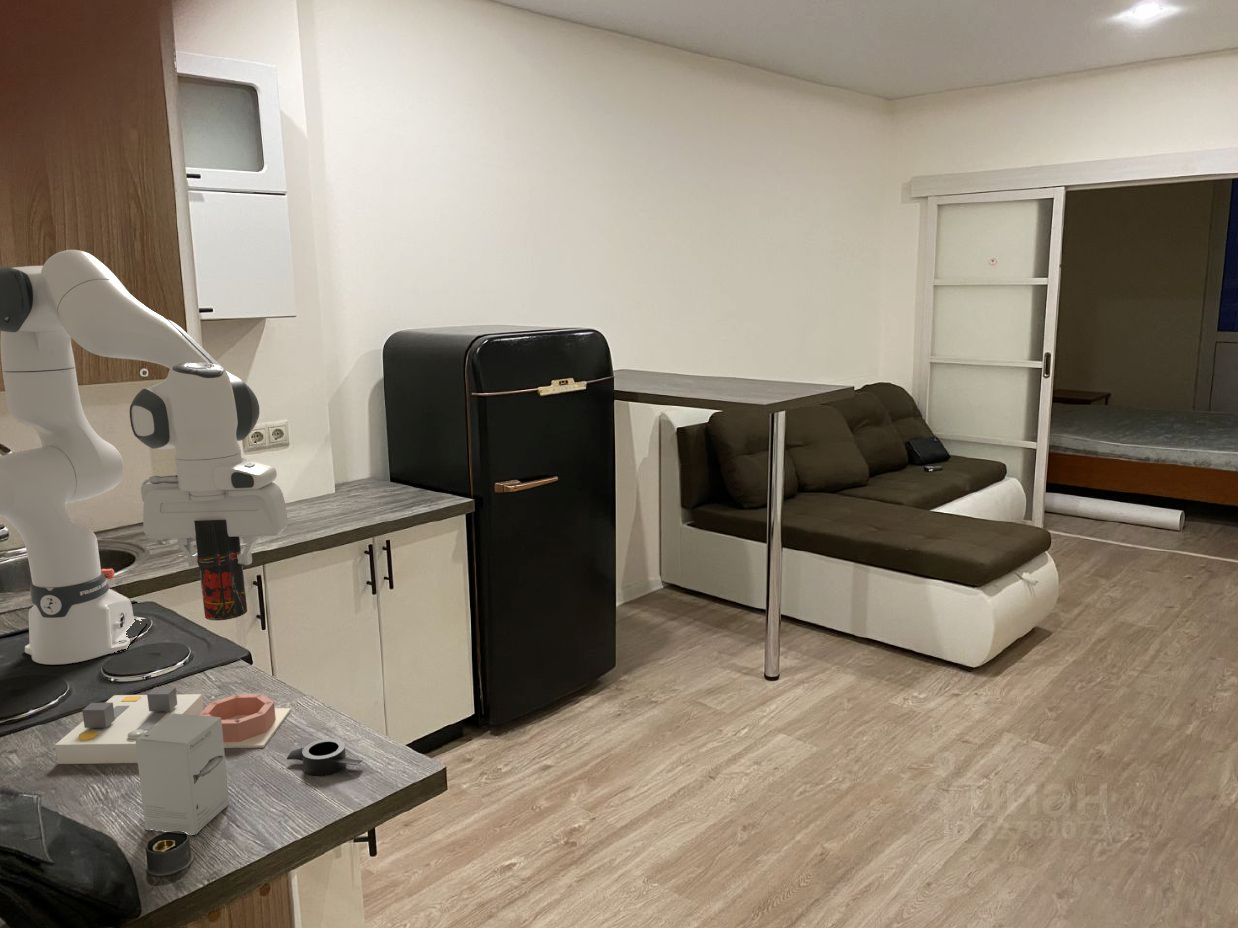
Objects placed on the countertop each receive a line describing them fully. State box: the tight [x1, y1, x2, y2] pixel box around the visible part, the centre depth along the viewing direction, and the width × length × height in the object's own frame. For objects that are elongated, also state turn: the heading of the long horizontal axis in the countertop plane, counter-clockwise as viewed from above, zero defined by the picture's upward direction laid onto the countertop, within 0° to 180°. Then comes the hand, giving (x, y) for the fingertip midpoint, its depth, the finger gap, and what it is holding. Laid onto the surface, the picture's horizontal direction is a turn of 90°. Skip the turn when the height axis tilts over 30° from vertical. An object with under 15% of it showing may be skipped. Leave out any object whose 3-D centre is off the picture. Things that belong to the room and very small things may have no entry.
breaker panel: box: [54, 693, 205, 765], centre depth 140 cm, size 16×14×4 cm
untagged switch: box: [146, 686, 177, 711], centre depth 141 cm, size 2×3×3 cm
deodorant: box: [194, 520, 248, 621], centre depth 138 cm, size 6×6×15 cm
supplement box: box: [135, 713, 230, 836], centre depth 117 cm, size 7×7×13 cm
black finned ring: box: [286, 738, 363, 778], centre depth 131 cm, size 8×10×3 cm
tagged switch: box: [81, 702, 115, 728], centre depth 136 cm, size 2×3×3 cm
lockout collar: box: [199, 693, 292, 749], centre depth 142 cm, size 12×12×3 cm
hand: (220, 564), depth 138 cm, fingers closed on deodorant, 6 cm apart
